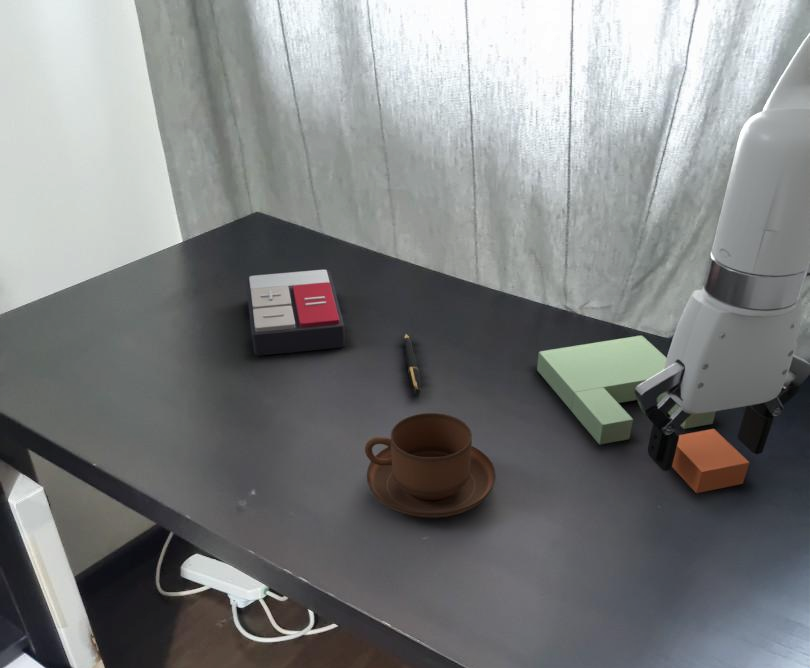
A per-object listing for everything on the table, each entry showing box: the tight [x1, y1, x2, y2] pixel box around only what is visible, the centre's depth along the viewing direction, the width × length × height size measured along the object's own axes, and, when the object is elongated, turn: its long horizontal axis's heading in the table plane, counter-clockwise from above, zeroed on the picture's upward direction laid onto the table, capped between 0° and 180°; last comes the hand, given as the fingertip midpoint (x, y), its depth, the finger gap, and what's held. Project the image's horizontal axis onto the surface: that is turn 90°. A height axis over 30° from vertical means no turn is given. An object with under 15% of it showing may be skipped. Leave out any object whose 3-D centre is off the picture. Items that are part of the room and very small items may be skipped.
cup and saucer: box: [364, 412, 496, 519], centre depth 76 cm, size 12×12×6 cm
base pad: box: [536, 334, 717, 445], centre depth 90 cm, size 13×16×2 cm
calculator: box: [245, 269, 346, 357], centre depth 104 cm, size 11×4×15 cm
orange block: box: [671, 428, 750, 494], centre depth 79 cm, size 5×6×2 cm
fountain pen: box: [403, 333, 422, 395], centre depth 96 cm, size 14×1×2 cm, turn 5°
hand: (704, 454), depth 78 cm, fingers open, 9 cm apart
